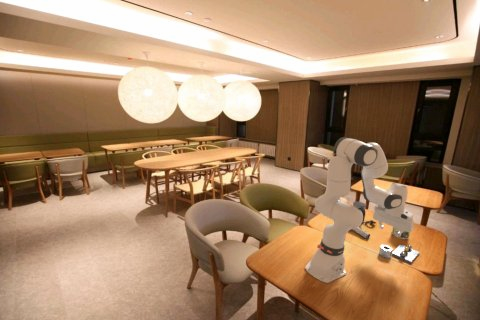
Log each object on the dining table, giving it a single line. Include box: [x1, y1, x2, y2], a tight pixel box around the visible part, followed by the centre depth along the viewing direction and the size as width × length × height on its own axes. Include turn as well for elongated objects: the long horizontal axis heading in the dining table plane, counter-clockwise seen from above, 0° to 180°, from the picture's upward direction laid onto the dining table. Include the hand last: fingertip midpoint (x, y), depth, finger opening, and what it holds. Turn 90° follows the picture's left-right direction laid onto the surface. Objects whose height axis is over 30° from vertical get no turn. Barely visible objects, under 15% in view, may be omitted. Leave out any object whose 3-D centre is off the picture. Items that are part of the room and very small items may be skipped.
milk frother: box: [352, 201, 377, 225], centre depth 178 cm, size 14×16×15 cm
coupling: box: [378, 244, 393, 259], centre depth 141 cm, size 6×6×5 cm
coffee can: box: [391, 217, 414, 240], centre depth 162 cm, size 10×10×14 cm
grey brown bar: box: [351, 226, 371, 240], centre depth 168 cm, size 5×7×25 cm
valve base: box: [391, 244, 420, 265], centre depth 142 cm, size 15×10×5 cm, turn 129°
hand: (390, 231), depth 137 cm, fingers open, 8 cm apart
